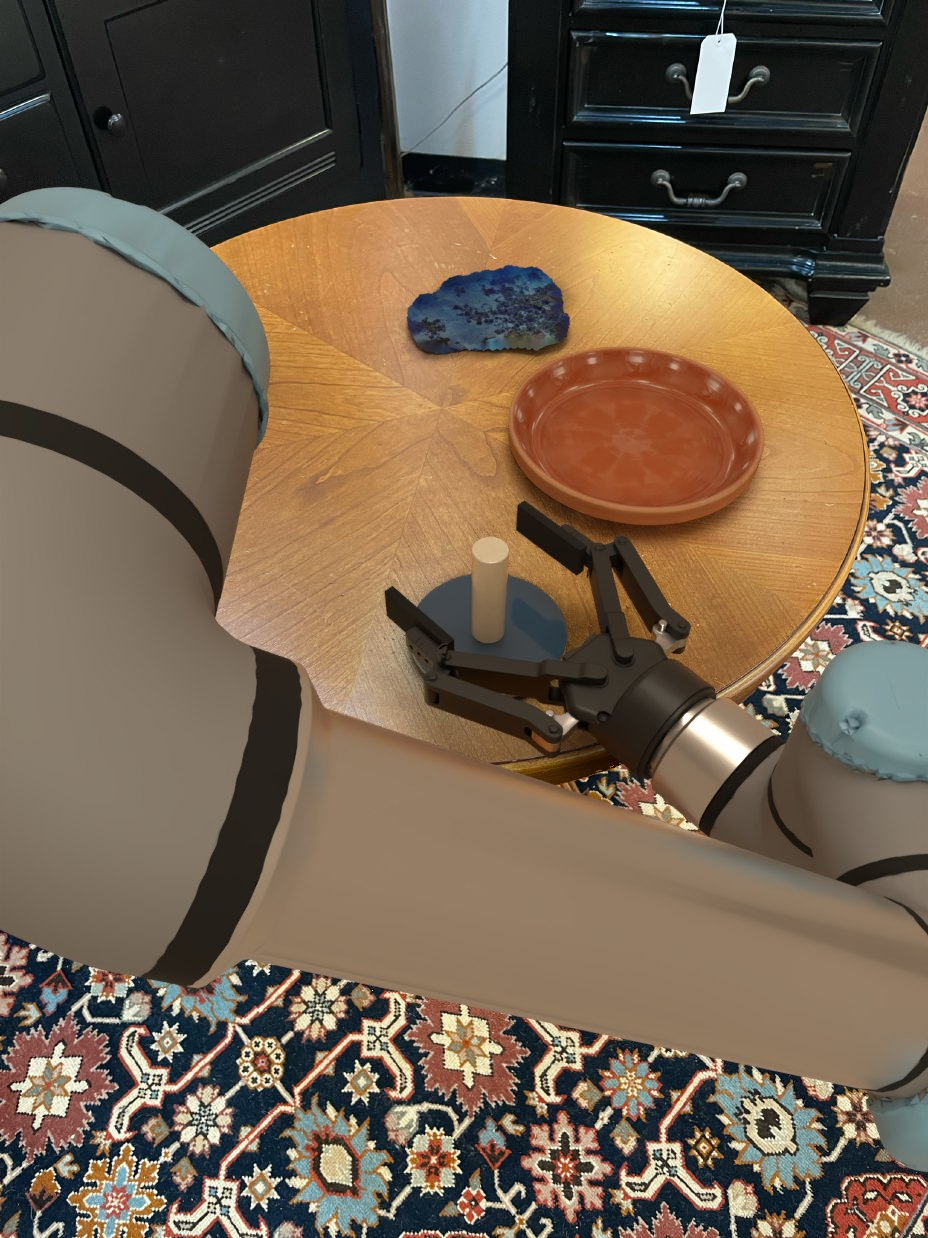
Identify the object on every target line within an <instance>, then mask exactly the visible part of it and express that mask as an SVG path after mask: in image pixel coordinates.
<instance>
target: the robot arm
mask: <svg viewBox="0 0 928 1238" xmlns="http://www.w3.org/2000/svg"><path fill="white" fill-rule="evenodd" d="M265 330H266V329H265V328H264V325H263V322H262V319H261V317H260V315H259V312H258V310H257V307H256V306H255V304H254V302H253V301H252V299H251V296H250V295H249V293H248V292H247V290H246V289H245V287H244V285H243V284H242V283H241V281H240V280H239V279H238V277H236V275H235V274H234V272H233V271H232V270H231V268H229V267H228V265H227V263H225V261H223V259H221V258H220V257H219V255H217V254H216V252H214V251H213V250H212V249H211V248H210V247H209V245H206V243H204V242H203V241H202V240H201V239H200V238H198V237H197V236H196V235H195V234H193V233H192V232H191V231H189V229H186V228H185V227H184V226H182V225H180V224H179V223H177V222H176V221H174V220H173V219H172V218H170V217H168V216H166V215H164V214H162V213H161V212H159V211H156V210H155V209H153V208H150V207H148V206H146V205H140V204H135V203H133V202H129V201H126V200H123V199H119V198H115V197H113V196H112V195H111V194H110V193H108V192H105V191H100V190H98V189H92V188H85V187H84V188H83V187H72V186H70V187H69V186H56V187H46V188H39V189H35V190H30V191H27V192H24V193H23V192H22V193H21V194H18V195H16V196H13V197H11V198H10V199H8V200H6V201H4V202H2V203H1V204H0V930H1V932H4V933H6V934H8V935H11V936H13V937H15V938H18V939H20V940H22V941H24V942H27V943H30V944H31V945H33V946H36V947H38V948H40V949H43V950H45V951H47V952H49V953H52V954H53V955H56V956H58V957H61V958H64V959H67V960H70V961H73V962H77V963H79V964H81V965H84V966H88V967H90V968H94V969H97V970H100V971H106V972H111V973H116V974H121V975H125V976H129V977H135V978H139V979H140V978H141V979H145V980H151V981H156V982H160V983H165V984H171V985H176V986H180V987H186V988H193V989H200V988H203V987H205V986H207V985H209V984H210V983H212V982H213V981H215V980H217V978H219V977H220V976H222V975H223V974H225V973H226V972H228V971H230V970H231V969H232V968H234V967H235V966H237V964H239V963H241V962H242V961H247V960H250V961H254V962H259V963H263V964H268V965H273V966H279V967H283V968H288V969H291V970H297V971H301V972H306V973H311V974H315V975H320V976H325V977H329V978H334V979H339V980H343V981H344V980H345V981H349V982H353V983H359V984H362V985H368V986H372V987H378V988H382V989H385V990H391V991H395V992H401V993H406V994H410V995H414V996H420V997H425V998H430V999H433V1000H439V1001H443V1002H448V1003H452V1004H457V1005H461V1006H467V1007H471V1008H477V1009H481V1010H486V1011H490V1012H496V1013H499V1014H505V1015H510V1016H515V1017H519V1018H523V1019H527V1020H531V1021H532V1020H533V1021H537V1022H543V1023H547V1024H552V1025H557V1026H560V1027H566V1028H571V1029H576V1030H580V1031H585V1032H589V1033H594V1034H599V1035H604V1036H608V1037H613V1038H617V1039H622V1040H627V1041H632V1042H636V1043H637V1042H638V1043H642V1044H647V1045H651V1046H656V1047H660V1048H665V1049H669V1050H670V1049H671V1050H673V1051H680V1052H683V1053H688V1054H694V1055H698V1056H703V1057H708V1058H713V1059H718V1060H723V1061H726V1062H732V1063H736V1064H739V1065H740V1064H741V1065H746V1066H750V1067H754V1068H759V1069H763V1070H769V1071H774V1072H779V1073H783V1074H789V1075H793V1076H797V1077H802V1078H808V1079H812V1080H816V1081H820V1082H821V1081H822V1082H826V1083H831V1084H835V1085H839V1086H845V1087H850V1088H853V1089H858V1090H863V1091H866V1092H867V1098H866V1099H865V1105H866V1106H865V1107H866V1109H867V1110H868V1111H869V1112H870V1113H871V1115H872V1118H873V1121H874V1125H875V1127H876V1131H877V1133H878V1137H879V1139H880V1143H881V1144H882V1146H883V1148H884V1149H885V1151H886V1152H887V1153H888V1154H889V1156H890V1157H891V1158H892V1159H894V1160H895V1161H896V1162H898V1163H899V1164H901V1165H903V1166H904V1167H906V1168H907V1169H911V1170H914V1171H918V1172H925V1173H928V647H925V646H922V645H919V644H916V643H912V642H909V641H903V640H888V639H879V640H875V639H874V640H873V639H872V640H865V641H861V642H858V643H855V644H852V645H850V646H848V647H846V648H844V649H842V650H841V651H840V652H838V653H837V654H835V656H833V658H832V659H830V660H829V661H828V663H827V664H826V666H825V667H824V669H823V671H822V672H821V674H820V675H819V678H818V679H817V681H816V683H814V686H813V688H811V689H810V690H808V692H807V693H806V694H805V695H804V696H803V698H802V701H801V702H800V710H799V711H798V714H797V716H796V719H795V721H794V723H793V725H792V727H791V730H790V732H789V735H788V736H787V739H786V741H785V740H784V739H783V738H781V737H780V736H778V734H776V732H774V731H772V730H771V729H770V728H769V727H767V726H766V725H765V724H763V723H762V722H760V720H759V719H757V718H755V717H754V716H753V715H752V714H750V713H749V712H748V711H746V710H745V709H744V708H743V707H742V706H741V705H739V704H737V702H735V701H733V699H731V698H729V697H727V696H726V697H725V696H724V697H719V698H717V697H718V696H717V693H716V689H715V687H714V686H713V685H712V684H711V683H709V682H708V681H706V680H705V679H704V678H703V677H702V676H700V675H698V674H697V673H696V672H695V671H693V670H692V669H691V668H689V667H688V666H687V665H686V664H684V663H683V662H681V661H680V660H678V659H675V658H669V657H668V656H669V655H670V654H673V655H681V654H683V653H684V652H685V650H686V646H687V644H688V640H689V636H690V632H691V629H692V624H691V623H690V621H688V620H687V619H686V618H685V617H683V616H682V615H681V614H680V613H679V612H677V611H676V610H675V609H674V608H673V607H672V606H671V605H670V603H669V602H668V600H667V599H666V597H665V595H664V594H663V592H662V590H661V588H660V587H659V585H658V584H657V582H656V580H655V579H654V577H653V575H652V574H651V572H650V570H649V569H648V567H647V566H646V564H645V562H644V561H643V559H642V557H641V555H640V554H639V553H638V551H637V550H636V548H635V546H634V544H633V542H632V541H631V539H630V538H629V537H628V536H625V535H617V536H615V538H614V539H613V541H612V542H608V543H605V544H604V543H602V542H594V541H593V540H592V539H590V538H589V537H588V536H586V535H585V534H584V533H582V532H581V531H580V530H578V529H576V527H574V526H572V525H571V524H567V523H563V524H561V525H559V524H558V523H557V522H555V521H554V520H553V519H551V518H549V517H548V516H547V515H545V514H544V513H543V512H542V511H540V510H538V509H537V508H536V507H534V506H533V505H532V504H531V503H529V502H528V501H526V500H523V501H520V503H518V504H517V506H516V523H515V531H516V532H517V533H519V534H520V535H522V536H523V537H524V538H525V539H526V540H528V541H530V542H531V543H532V544H534V545H535V546H536V547H537V548H539V549H540V550H541V551H543V552H544V553H545V554H547V555H548V556H550V558H552V559H553V560H555V561H556V562H557V563H559V564H560V565H561V566H563V568H565V569H566V570H568V571H569V572H571V573H572V574H573V575H574V576H576V577H578V576H579V575H580V574H581V573H583V572H584V571H585V568H587V571H586V579H588V581H589V585H590V590H591V594H592V599H593V605H594V609H595V614H596V618H597V624H598V627H599V633H596V632H595V631H593V632H592V633H591V634H590V635H588V636H587V637H586V638H585V640H584V641H583V642H582V644H581V645H580V646H577V647H575V648H572V649H569V650H568V651H567V652H565V655H564V656H563V657H562V661H558V660H551V659H545V660H543V661H541V662H531V661H524V660H517V659H509V658H502V657H495V656H487V655H480V654H473V653H466V652H458V651H454V639H453V638H452V637H451V636H450V635H449V634H448V633H446V632H445V631H444V630H443V629H442V628H441V627H439V626H438V625H437V624H436V623H435V622H434V621H433V620H431V619H430V618H429V617H428V616H427V615H426V614H425V613H423V612H422V611H421V610H420V609H419V608H418V607H417V606H416V605H415V604H414V603H413V602H412V601H411V600H410V599H409V598H408V597H406V596H405V595H404V594H403V593H402V592H400V591H399V589H397V588H396V587H395V586H394V585H391V586H390V587H389V588H387V589H385V590H384V591H383V592H384V601H385V614H386V617H387V618H388V619H389V620H391V622H393V623H394V625H396V626H397V627H398V628H400V630H402V632H404V633H405V634H404V635H405V645H406V648H407V650H408V652H410V654H411V655H412V654H413V655H414V656H415V657H416V658H418V659H419V660H420V661H421V662H422V663H423V664H424V665H425V666H426V667H427V668H428V669H430V671H428V672H426V673H425V674H424V673H423V677H422V680H423V684H422V685H423V700H424V702H425V704H426V705H427V706H429V707H432V708H434V709H437V710H440V711H443V712H445V713H448V714H451V715H454V716H456V717H459V718H462V719H465V720H466V721H470V722H473V723H476V724H477V725H478V724H479V725H480V726H484V727H487V728H489V729H493V730H495V731H497V732H500V733H503V734H504V735H508V736H511V737H514V738H516V739H520V740H522V741H525V742H526V743H528V744H529V745H530V746H531V747H532V748H534V749H535V750H536V751H537V752H539V753H540V754H542V755H543V756H544V757H545V758H547V759H555V758H558V757H559V756H560V754H561V749H562V745H563V743H564V742H566V741H567V740H568V738H570V737H571V736H572V735H573V734H574V733H575V732H576V731H577V730H578V731H581V732H585V733H587V734H589V735H591V736H593V737H594V738H595V740H597V742H598V743H599V744H600V745H601V746H602V748H603V749H604V750H605V751H606V752H607V753H609V754H610V755H611V756H612V757H613V758H614V759H615V760H617V762H619V763H620V764H621V765H623V766H624V767H625V768H626V769H627V770H628V771H630V772H631V773H632V774H633V775H634V776H635V777H637V778H638V779H639V780H651V789H652V791H653V792H654V793H656V794H657V795H658V796H659V797H661V799H663V800H664V801H665V802H667V804H669V805H670V806H671V807H672V808H673V809H674V810H676V811H677V812H678V813H679V814H681V816H682V817H684V818H685V819H686V820H687V821H689V822H690V823H691V824H692V825H693V826H694V827H695V828H697V829H698V830H699V831H700V832H702V833H703V834H704V835H703V834H700V833H697V832H695V831H692V830H689V829H686V828H684V827H681V826H677V825H674V824H671V823H668V822H665V821H662V820H659V819H656V818H653V817H651V816H647V815H645V814H641V813H639V812H637V811H636V812H635V811H632V810H630V809H627V808H624V807H622V806H618V805H614V804H612V803H609V802H606V801H603V800H600V799H597V798H594V797H591V796H589V795H585V794H582V793H580V792H577V791H574V790H571V789H567V788H565V787H561V786H559V785H557V784H553V783H550V782H548V781H543V780H542V779H538V778H535V777H532V776H529V775H526V774H523V773H520V772H517V771H514V770H512V769H509V768H505V767H502V766H500V765H498V764H494V763H491V762H488V761H485V760H482V759H478V758H476V757H473V756H470V755H467V754H464V753H461V752H459V751H455V750H453V749H449V748H447V747H444V746H440V745H437V744H434V743H432V742H428V741H425V740H423V739H419V738H417V737H414V736H411V735H407V734H405V733H402V732H399V731H397V730H393V729H390V728H387V727H384V726H381V725H379V724H375V723H372V722H370V721H366V720H364V719H360V718H358V717H355V716H352V715H348V714H345V713H343V712H339V711H337V710H334V709H331V708H328V707H325V705H324V704H323V702H322V700H321V698H320V696H319V694H318V692H317V689H316V688H315V685H314V683H313V681H312V679H311V677H310V675H309V673H308V671H307V669H306V667H305V666H304V665H303V664H302V663H300V662H298V661H295V660H293V659H290V658H287V657H284V656H282V655H279V654H276V653H274V652H271V651H267V650H264V649H261V648H259V647H256V646H253V645H250V644H248V643H246V642H244V641H242V640H240V639H238V638H236V637H234V636H233V635H232V634H231V633H230V632H229V631H228V630H227V629H226V628H224V627H223V626H222V625H221V624H219V622H218V620H217V619H216V618H217V613H218V609H219V604H220V602H221V599H222V595H223V590H224V586H225V581H226V578H227V572H228V568H229V565H230V564H229V563H230V560H231V555H232V551H233V546H234V543H235V538H236V533H237V530H238V529H237V528H238V524H239V520H240V517H241V516H240V515H241V512H242V509H243V503H244V498H245V494H246V489H247V486H248V480H249V478H250V472H251V467H252V463H253V460H254V454H255V452H256V451H257V449H258V448H259V446H260V444H261V443H262V442H263V439H264V438H265V435H266V432H267V429H268V423H269V416H270V415H269V414H270V407H269V406H270V405H269V400H268V394H269V393H268V391H269V385H270V379H271V378H270V377H271V356H270V349H269V344H268V343H269V342H268V338H267V334H266V331H265ZM614 574H615V575H616V577H617V579H618V581H619V583H620V584H621V586H622V588H623V589H624V591H625V594H626V595H627V597H628V598H629V600H630V602H631V604H632V605H633V607H634V608H635V610H636V612H637V614H638V616H639V617H640V619H641V621H642V622H643V624H644V626H645V628H646V629H647V631H648V632H649V634H650V639H649V638H643V637H636V636H631V635H630V632H629V631H630V630H629V626H628V622H627V619H626V614H625V611H623V610H622V606H621V602H620V596H619V593H618V589H617V585H616V580H615V575H614ZM555 680H556V681H557V684H558V686H554V685H552V684H551V681H555ZM500 693H501V694H500ZM503 694H508V695H515V696H516V697H522V698H531V699H535V701H537V702H538V703H539V704H543V705H549V706H554V707H555V706H557V707H562V708H563V714H557V713H555V711H554V710H553V709H550V708H549V709H547V710H545V712H544V710H542V709H540V708H539V707H537V706H534V705H532V704H530V703H528V702H525V701H522V700H520V699H517V698H515V697H512V698H511V697H508V696H505V695H503Z"/></svg>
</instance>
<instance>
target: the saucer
mask: <svg viewBox="0 0 928 1238" xmlns="http://www.w3.org/2000/svg"><path fill="white" fill-rule="evenodd" d="M507 422H508V425H507V426H508V429H507V430H508V433H507V434H508V443H509V446H510V450H511V453H512V455H513V456H512V457H513V458H514V460H515V462H516V463H517V465H518V466H519V469H520V470H521V472H522V473H523V474H524V475H525V476H526V477H527V478H528V480H530V482H532V484H534V486H536V487H537V488H538V489H539V490H541V491H542V492H543V493H544V494H545V495H547V496H548V497H550V498H552V499H553V500H555V501H556V502H558V503H560V504H562V505H563V506H566V507H568V508H570V509H572V510H574V511H577V512H579V513H582V514H584V515H587V516H590V517H594V518H597V519H601V520H604V521H610V522H613V523H620V524H627V525H635V526H661V525H662V526H663V525H664V526H665V525H673V524H674V525H675V524H680V523H686V522H689V521H695V520H698V519H700V518H704V517H706V516H709V515H711V514H714V513H716V512H718V511H720V510H721V509H724V508H725V507H727V506H728V505H730V504H731V503H733V502H734V501H735V500H736V499H737V498H739V496H741V494H742V493H744V491H745V490H746V489H747V488H748V487H749V485H750V484H751V482H752V481H753V479H754V477H755V475H756V472H757V471H758V468H759V465H760V463H761V460H762V457H763V453H764V451H765V439H766V438H765V430H764V426H763V422H762V419H761V416H760V414H759V412H758V409H756V407H755V405H754V404H753V402H752V401H751V399H750V398H749V397H748V395H746V393H744V391H743V390H742V389H741V388H740V387H739V386H737V385H736V384H735V383H734V382H733V381H731V380H730V379H729V378H727V377H726V376H724V375H723V374H722V373H720V372H718V371H717V370H715V369H713V368H711V367H709V366H708V365H705V364H703V363H701V362H699V361H696V360H695V359H692V358H689V357H686V356H683V355H679V354H677V353H672V352H669V351H664V350H659V349H654V348H647V347H637V346H605V347H604V346H603V347H595V348H589V349H585V350H584V349H583V350H579V351H576V352H571V353H568V354H566V355H562V356H560V357H558V358H555V359H553V360H551V361H549V362H547V363H546V364H544V365H542V366H541V367H539V368H538V369H536V370H535V371H534V372H532V374H530V375H529V376H528V377H527V378H526V379H525V380H524V381H523V382H522V383H521V385H520V386H519V388H518V389H517V391H516V392H515V394H514V395H513V398H512V400H511V404H510V407H509V411H508V421H507Z"/></svg>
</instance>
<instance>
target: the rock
mask: <svg viewBox="0 0 928 1238" xmlns="http://www.w3.org/2000/svg"><path fill="white" fill-rule="evenodd" d="M563 297H564V295H563V293H562V289H561V288H560V287H559V286H558V285H557V284H556V283H555V282H554V279H553V278H552V277H550V276H549V275H548V274H547V273H545V272H544V271H543V270H542V269H541V268H539V267H538V266H532V265H531V266H526V267H524V266H522V267H521V266H519V265H512V264H506V265H504V266H503V267H498V268H496V269H492V270H491V269H482V270H481V271H473V272H470V273H469V274H464V275H462V274H457V275H453V276H449V277H448V278H447V279H446V280H443V282H442V283H441V284H440V286H439V289H437V290H436V291H433V292H432V293H431V292H426V293H420V294H418V296H417V297H416V298H415V299H414V300H413V301H412V303H411V304H410V305H409V306H408V307H407V310H406V313H407V316H406V322H407V328H408V330H409V332H410V333H411V336H412V339H414V341H415V342H416V346H418V347H419V348H420V349H423V350H424V351H425V352H426V353H434V354H435V355H440V354H444V355H445V354H449V353H455V352H458V353H459V352H461V351H463V350H468V351H471V350H474V351H475V352H477V351H481V350H482V351H483V352H484V351H486V350H490V351H493V352H494V351H496V350H499V351H502V349H504V348H505V349H506V350H509V349H513V350H514V349H518V348H519V349H526V350H528V351H530V350H531V349H533V350H534V351H539V350H540V349H543V348H544V347H547V346H550V345H551V346H552V345H555V344H560V343H563V342H564V340H565V339H567V338H568V333H569V329H570V324H571V322H570V321H571V317H570V315H569V313H568V312H565V311H564V303H565V302H564V299H563Z"/></svg>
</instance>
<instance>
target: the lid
mask: <svg viewBox="0 0 928 1238" xmlns="http://www.w3.org/2000/svg"><path fill="white" fill-rule="evenodd" d="M509 561H510V548H509V545H508V544H507V542H506V541H505V540H503V539H501V538H500V537H496V536H484V537H481V538H479V539H478V540H476V541H475V542H474V543H473V544H472V547H471V573H469V574H465V575H461V576H457V577H454V578H451V579H449V580H447V581H444V582H443V583H441V584H439V585H438V586H436V587H435V588H433V589H432V590H431V591H429V592H428V593H427V594H426V595H425V596H424V597H423V598H422V599H421V601H420V602H419V603H418V604H417V606H416V607H418V608H419V609H420V610H421V611H422V612H423V613H425V614H426V615H427V616H428V617H429V618H430V619H431V620H433V621H434V622H435V623H436V624H437V625H438V626H439V627H441V628H442V629H443V630H444V631H445V632H446V633H448V634H449V635H450V636H451V637H452V638H453V639H454V651H458V652H466V653H473V654H480V655H487V656H495V657H502V658H509V659H517V660H524V661H531V662H541V661H543V660H545V659H551V660H558V661H562V657H563V656H564V655H565V654H566V650H567V647H568V637H569V636H568V626H567V622H566V619H565V616H564V614H563V612H562V610H561V609H560V607H559V606H558V604H557V602H556V601H555V600H554V599H553V598H552V597H551V596H550V595H549V594H548V593H546V592H545V591H544V590H543V589H541V588H540V587H538V586H537V585H535V584H533V583H531V582H529V581H528V580H526V579H523V578H520V577H517V576H515V575H510V574H509ZM411 656H412V658H413V660H414V662H415V664H416V666H417V667H418V668H419V669H420V671H421V672H422V673H423V675H424V674H425V673H426V672H428V671H430V669H428V668H427V667H426V666H425V665H424V664H423V663H422V662H421V661H420V660H419V659H418V658H416V657H415V656H414V655H413V654H412V653H411ZM500 694H501V693H500ZM503 695H505V696H508V697H511V698H516V697H517V696H515V695H508V694H503Z"/></svg>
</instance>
